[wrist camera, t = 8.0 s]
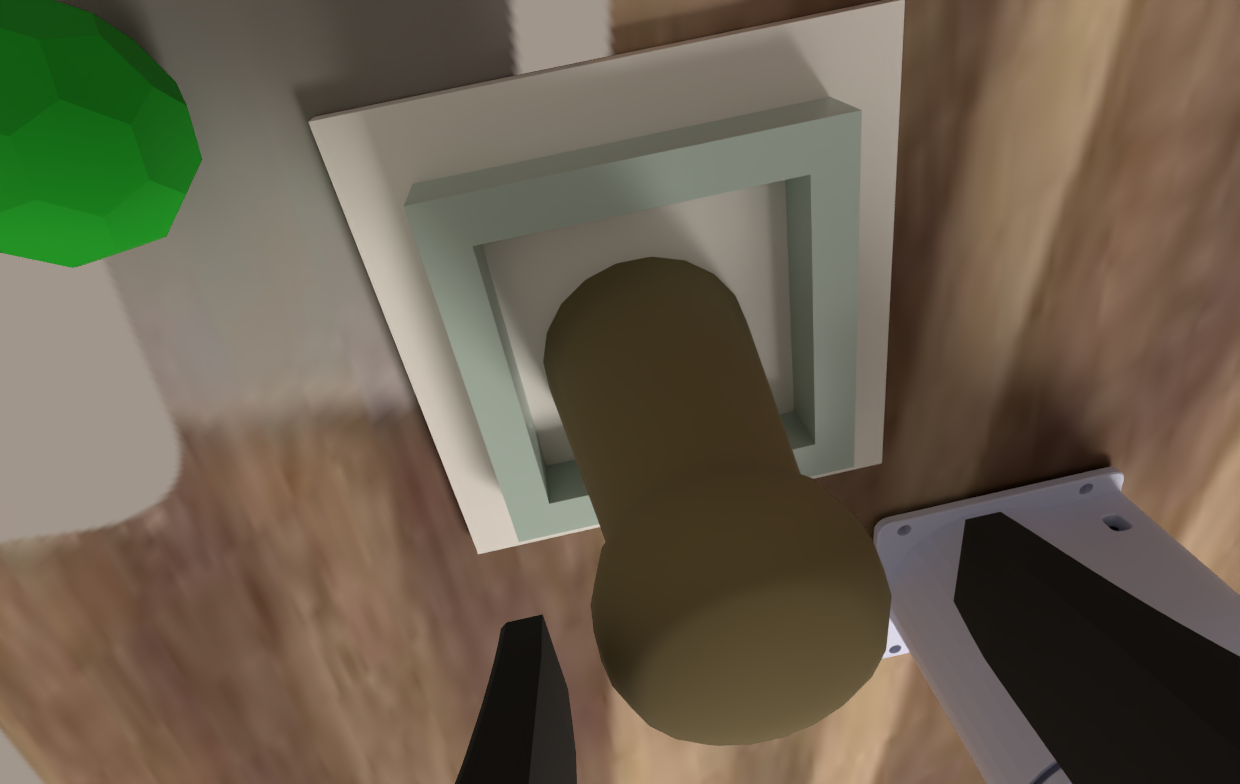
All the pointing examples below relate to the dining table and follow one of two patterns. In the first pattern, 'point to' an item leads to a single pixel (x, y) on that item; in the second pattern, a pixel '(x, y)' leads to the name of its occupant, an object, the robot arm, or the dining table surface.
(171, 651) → the dining table surface
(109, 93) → the polyhedron
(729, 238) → the socket block
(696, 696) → the cork
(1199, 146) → the dining table surface
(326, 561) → the dining table surface
